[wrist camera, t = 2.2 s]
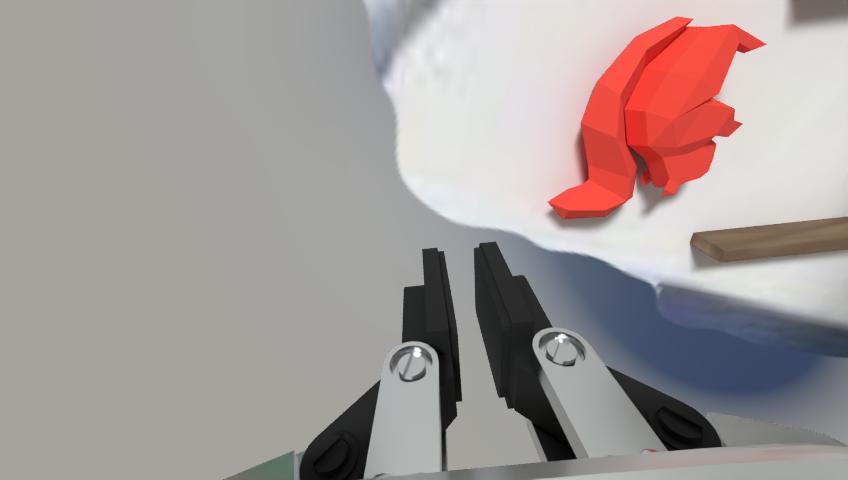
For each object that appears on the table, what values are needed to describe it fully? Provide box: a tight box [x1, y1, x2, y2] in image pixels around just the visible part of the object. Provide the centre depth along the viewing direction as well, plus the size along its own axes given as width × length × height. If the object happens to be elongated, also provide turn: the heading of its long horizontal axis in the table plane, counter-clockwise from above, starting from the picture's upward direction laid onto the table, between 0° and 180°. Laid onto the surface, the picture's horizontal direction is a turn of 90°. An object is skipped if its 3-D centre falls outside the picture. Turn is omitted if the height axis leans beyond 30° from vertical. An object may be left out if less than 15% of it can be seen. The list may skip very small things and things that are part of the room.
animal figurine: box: [548, 17, 766, 219], centre depth 24 cm, size 12×15×5 cm
